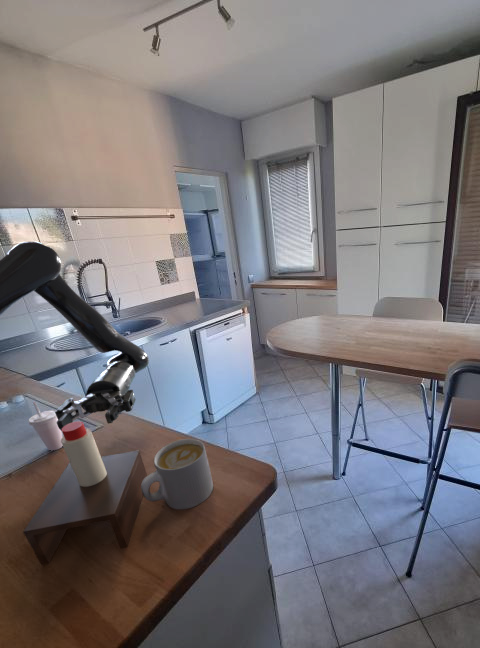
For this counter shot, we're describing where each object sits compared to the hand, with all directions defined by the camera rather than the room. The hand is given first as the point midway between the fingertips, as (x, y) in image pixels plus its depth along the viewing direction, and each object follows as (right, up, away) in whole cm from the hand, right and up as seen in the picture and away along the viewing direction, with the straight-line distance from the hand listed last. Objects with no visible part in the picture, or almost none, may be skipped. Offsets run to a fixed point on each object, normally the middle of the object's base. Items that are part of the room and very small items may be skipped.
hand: (85, 423), depth 65 cm
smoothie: (-24, -11, +25) cm, 36 cm away
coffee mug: (+17, -16, +5) cm, 24 cm away
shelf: (+3, -19, +1) cm, 19 cm away
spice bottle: (+2, -11, 0) cm, 11 cm away
